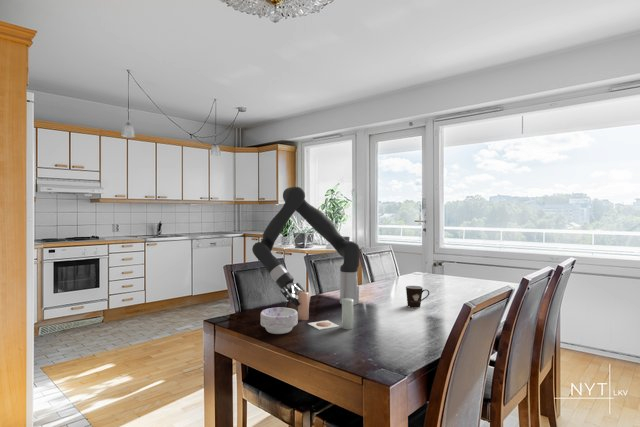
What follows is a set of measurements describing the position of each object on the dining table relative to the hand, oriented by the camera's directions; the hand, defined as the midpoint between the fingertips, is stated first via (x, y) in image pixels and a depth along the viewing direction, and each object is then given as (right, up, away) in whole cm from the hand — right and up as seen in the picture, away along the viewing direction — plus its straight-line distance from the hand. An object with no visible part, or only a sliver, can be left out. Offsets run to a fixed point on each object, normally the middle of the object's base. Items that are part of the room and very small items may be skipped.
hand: (303, 303), depth 182 cm
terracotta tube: (0, -7, 0) cm, 7 cm away
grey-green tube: (+19, -7, -13) cm, 24 cm away
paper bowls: (-9, -7, -18) cm, 21 cm away
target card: (+9, -7, -10) cm, 15 cm away
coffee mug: (+58, -7, +25) cm, 64 cm away
